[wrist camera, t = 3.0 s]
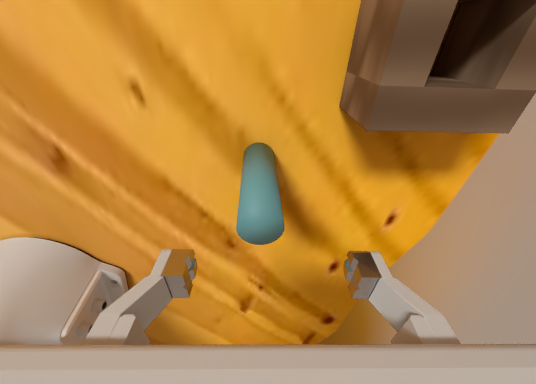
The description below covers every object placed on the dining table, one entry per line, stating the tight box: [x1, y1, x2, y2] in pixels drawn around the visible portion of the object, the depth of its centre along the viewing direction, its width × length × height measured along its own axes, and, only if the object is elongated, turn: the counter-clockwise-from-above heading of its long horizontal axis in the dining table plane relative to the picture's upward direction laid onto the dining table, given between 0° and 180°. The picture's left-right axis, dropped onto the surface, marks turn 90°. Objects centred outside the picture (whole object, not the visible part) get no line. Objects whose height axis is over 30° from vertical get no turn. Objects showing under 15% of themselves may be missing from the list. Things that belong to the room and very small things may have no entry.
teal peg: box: [237, 143, 284, 245], centre depth 18 cm, size 3×3×10 cm
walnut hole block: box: [339, 0, 536, 133], centre depth 15 cm, size 10×10×6 cm
